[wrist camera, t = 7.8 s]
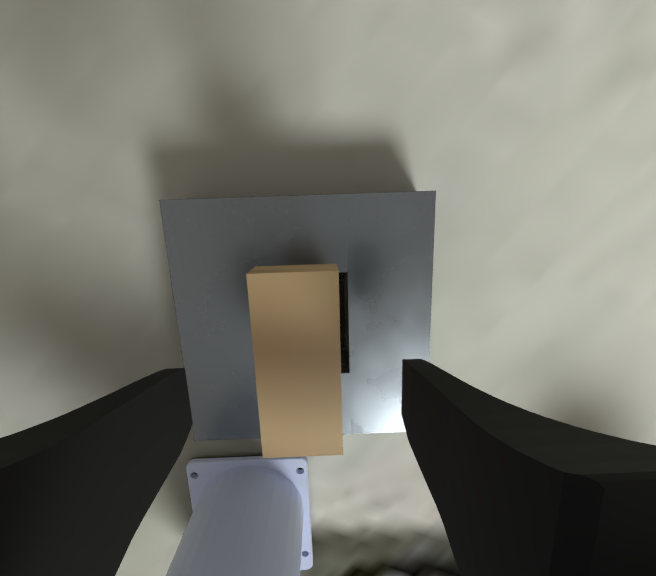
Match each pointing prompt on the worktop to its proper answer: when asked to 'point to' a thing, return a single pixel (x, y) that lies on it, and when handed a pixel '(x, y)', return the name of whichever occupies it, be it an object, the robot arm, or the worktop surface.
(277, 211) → the flat gray square plate
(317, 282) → the tall cardboard box
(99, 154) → the worktop surface
